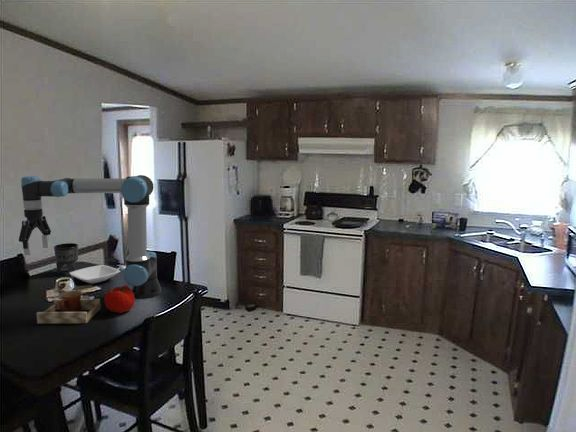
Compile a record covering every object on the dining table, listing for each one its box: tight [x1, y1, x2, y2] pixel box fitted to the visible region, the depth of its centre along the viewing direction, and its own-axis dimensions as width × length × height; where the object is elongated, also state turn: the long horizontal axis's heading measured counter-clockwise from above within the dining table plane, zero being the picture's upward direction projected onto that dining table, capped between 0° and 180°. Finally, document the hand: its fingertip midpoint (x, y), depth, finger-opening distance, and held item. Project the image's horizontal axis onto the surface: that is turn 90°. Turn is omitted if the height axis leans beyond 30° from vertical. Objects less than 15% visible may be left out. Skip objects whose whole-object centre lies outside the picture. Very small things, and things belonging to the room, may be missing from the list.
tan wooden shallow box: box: [35, 298, 102, 324], centre depth 189 cm, size 21×16×5 cm
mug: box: [59, 290, 83, 312], centre depth 189 cm, size 12×9×10 cm
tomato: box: [103, 285, 136, 314], centre depth 196 cm, size 13×14×12 cm
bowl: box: [68, 264, 121, 285], centre depth 237 cm, size 22×23×6 cm
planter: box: [53, 242, 79, 277], centre depth 248 cm, size 13×13×18 cm
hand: (37, 251), depth 198 cm, fingers open, 13 cm apart
